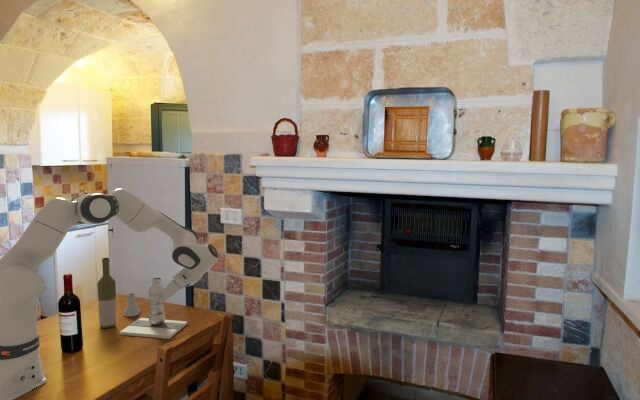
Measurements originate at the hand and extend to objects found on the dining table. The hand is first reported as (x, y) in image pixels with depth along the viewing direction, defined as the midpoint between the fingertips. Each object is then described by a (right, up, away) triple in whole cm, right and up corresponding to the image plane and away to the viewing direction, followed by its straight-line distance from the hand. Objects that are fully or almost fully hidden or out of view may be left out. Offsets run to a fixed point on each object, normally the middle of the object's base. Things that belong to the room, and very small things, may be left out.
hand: (167, 296), depth 190 cm
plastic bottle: (-5, -13, +2) cm, 14 cm away
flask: (-22, -12, +17) cm, 30 cm away
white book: (-6, -14, 0) cm, 15 cm away
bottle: (-27, -14, +2) cm, 30 cm away
